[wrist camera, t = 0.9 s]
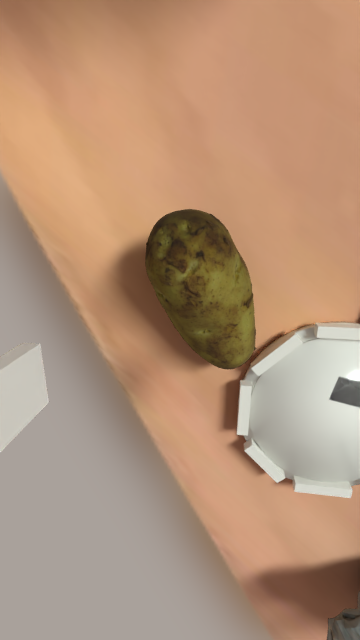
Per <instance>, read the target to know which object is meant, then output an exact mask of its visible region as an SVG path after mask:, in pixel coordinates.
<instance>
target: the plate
mask: <svg viewBox="0 0 360 640" xmlns="http://www.w3.org/2000/svg"><path fill="white" fill-rule="evenodd" d="M339 376H340V377H344V380H347V379H350V380H349V381H351V380H354V383H355V381H359V382H360V323H354V322H345V321H340V322H324V323H315V324H312V325H308V326H304V327H302V328H299V329H296V330H294V331H291V332H289V333H287V334H285V335H284V336H282V337H280V338H278V339H277V340H275V341H274V342H273V343H271V344H270V345H269V346H267V347H266V348H265V349H264V350H263V351H262V352H261V353H260V354H259V355H258V356H257V357H256V359H255V360H254V361H253V362H252V363H251V364H250V367H249V368H248V370H247V372H246V374H245V376H244V378H243V380H240V388H239V397H238V416H237V435H243V436H244V438H245V440H246V442H245V443H244V451H245V452H246V453H247V454H248V455H249V456H250V457H251V458H252V459H253V460H254V461H255V462H256V463H257V464H258V465H259V466H260V467H261V468H262V469H263V470H264V471H265V472H266V473H267V474H268V475H269V476H270V477H271V478H272V479H273V480H274V481H276V482H277V483H278V482H280V481H281V480H283V479H285V477H286V478H288V479H291V480H293V483H292V484H293V488H294V492H302V493H311V494H320V495H329V496H337V497H346V498H351V495H352V490H353V489H352V487H351V486H353V485H358V484H360V408H359V407H358V406H356V407H355V406H351V405H350V404H349V403H350V402H351V401H350V402H347V403H348V404H349V405H348V404H344V403H340V402H341V400H342V399H341V400H340V402H336V401H337V400H334V401H333V400H329V398H330V396H331V395H332V391H333V389H335V388H334V387H335V386H336V385H335V384H336V383H337V380H338V379H339ZM339 380H341V382H342V381H343V380H342V379H339ZM338 382H340V381H338ZM345 382H346V381H344V383H345ZM342 383H343V382H342ZM350 383H351V382H350ZM350 383H348V385H347V386H349V384H350ZM357 383H358V382H357ZM357 383H355V384H356V385H357V386H358V385H359V384H357ZM345 384H346V383H345ZM337 385H340V383H339V384H337ZM350 385H351V384H350ZM352 385H353V384H352ZM344 386H345V385H344ZM344 386H343V387H342V388H344ZM347 386H345V387H347ZM354 386H355V385H353V386H352V388H353V387H354ZM357 386H356V387H357ZM359 386H360V385H359ZM338 388H339V387H338ZM347 388H349V387H347ZM347 388H345V389H347ZM350 389H351V388H350ZM335 390H336V389H335ZM338 390H339V389H338ZM348 390H349V389H348ZM354 390H355V389H354ZM345 391H346V390H345ZM356 391H357V390H356ZM358 391H359V390H358ZM358 391H357V392H358ZM333 392H334V391H333ZM349 392H350V390H349ZM351 392H352V389H351ZM351 392H350V393H351ZM334 393H335V392H334ZM336 393H337V392H336ZM343 393H344V391H343ZM343 393H342V394H343ZM350 393H349V394H350ZM352 393H353V392H352ZM355 393H356V392H355ZM339 394H341V393H340V391H339ZM339 394H338V395H339ZM342 394H341V395H342ZM345 394H346V392H345ZM345 394H344V395H345ZM347 394H348V393H347ZM357 394H358V393H357ZM359 394H360V392H359ZM341 395H340V396H341ZM350 395H351V394H350ZM346 396H347V395H346ZM351 396H352V395H351ZM355 396H356V395H355ZM331 397H332V396H331ZM335 398H336V397H335ZM351 398H352V397H351ZM359 398H360V396H359ZM359 398H358V399H359ZM339 399H340V398H339ZM346 399H347V398H346ZM346 399H345V400H346ZM355 399H356V398H355ZM355 399H354V403H355V401H356V400H355ZM349 400H350V399H349ZM351 400H352V399H351ZM343 401H344V400H343ZM344 402H345V401H344ZM352 402H353V400H352ZM356 402H357V401H356ZM358 402H359V401H358ZM356 404H357V403H356ZM358 404H360V402H359V403H358Z"/></svg>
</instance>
